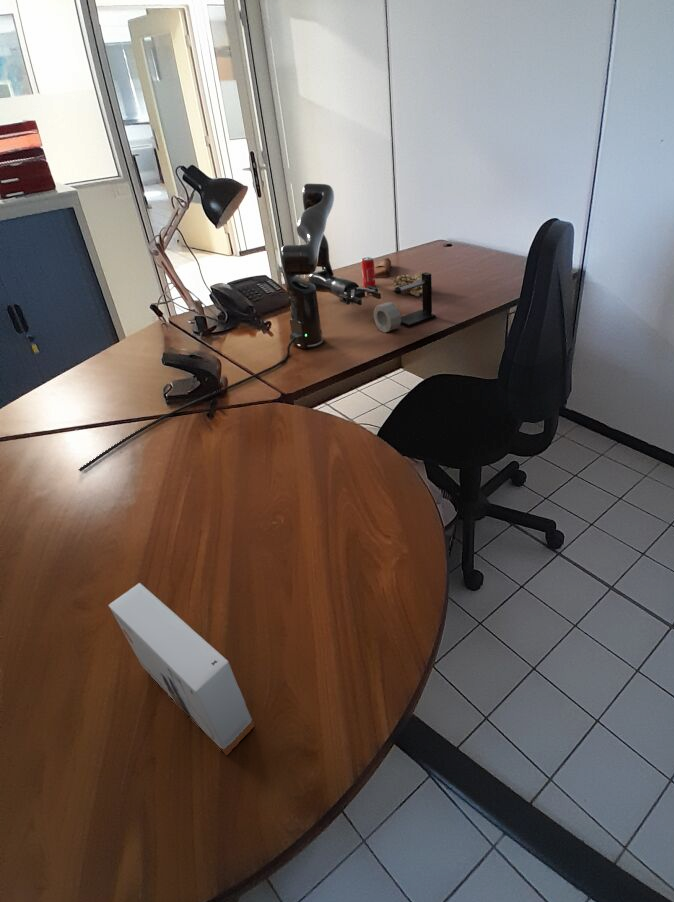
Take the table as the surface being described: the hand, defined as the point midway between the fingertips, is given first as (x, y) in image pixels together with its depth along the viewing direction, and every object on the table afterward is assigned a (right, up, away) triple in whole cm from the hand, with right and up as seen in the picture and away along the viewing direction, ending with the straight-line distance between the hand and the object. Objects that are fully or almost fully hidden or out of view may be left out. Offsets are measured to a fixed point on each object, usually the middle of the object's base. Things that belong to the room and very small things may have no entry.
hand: (370, 299), depth 196 cm
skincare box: (-18, -83, -117) cm, 144 cm away
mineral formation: (+15, +9, +32) cm, 37 cm away
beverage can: (-3, +14, +41) cm, 43 cm away
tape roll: (+6, -11, -2) cm, 13 cm away
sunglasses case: (+1, +25, +59) cm, 64 cm away
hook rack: (+16, -6, +5) cm, 18 cm away
